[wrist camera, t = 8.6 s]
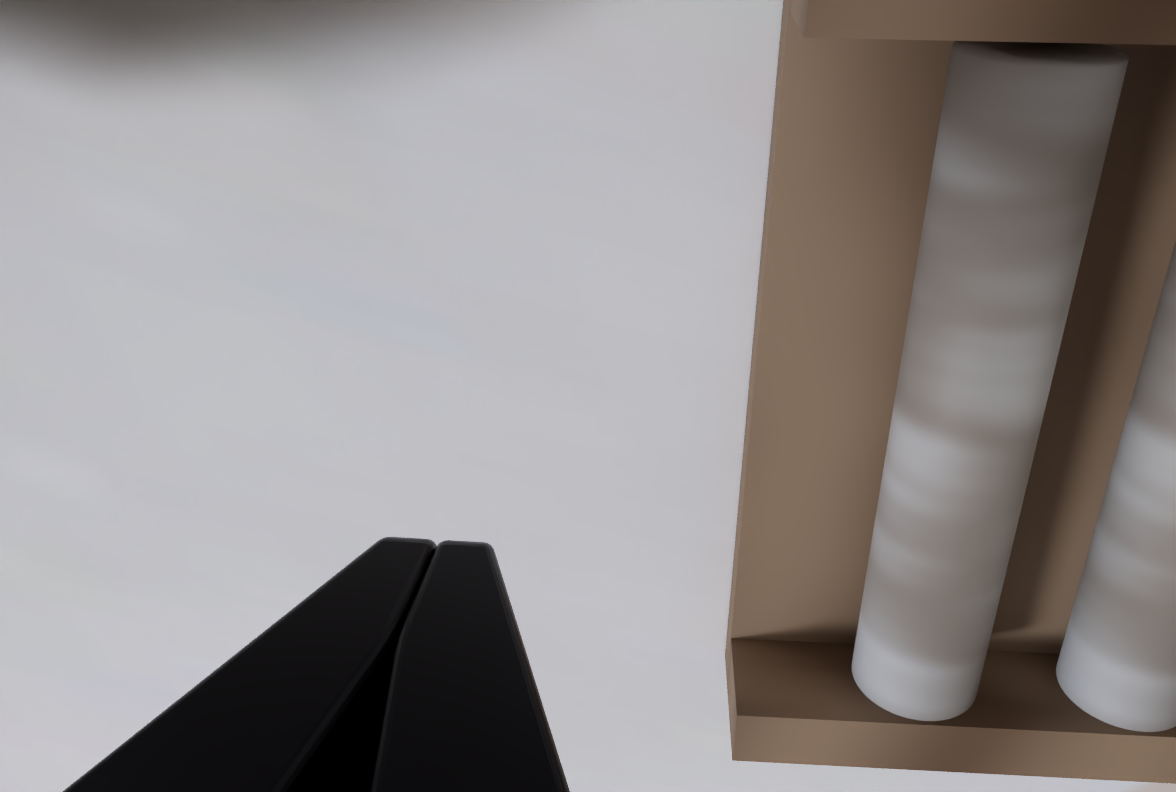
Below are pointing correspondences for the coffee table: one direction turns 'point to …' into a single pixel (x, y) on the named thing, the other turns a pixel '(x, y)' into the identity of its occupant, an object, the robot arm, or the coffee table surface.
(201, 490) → the coffee table surface
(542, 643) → the coffee table surface
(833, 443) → the roller bed
